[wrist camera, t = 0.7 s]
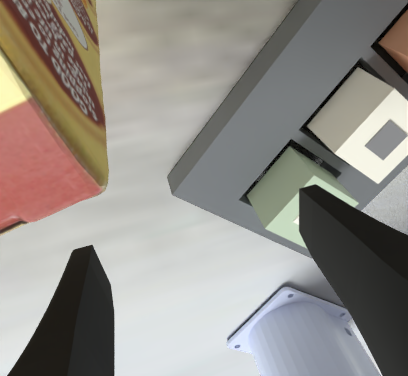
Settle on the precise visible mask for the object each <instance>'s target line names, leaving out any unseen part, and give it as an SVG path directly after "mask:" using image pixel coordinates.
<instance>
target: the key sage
mask: <svg viewBox="0 0 408 376" xmlns="http://www.w3.org/2000/svg"><path fill="white" fill-rule="evenodd" d="M314 184H316V185H318V186H320V187H321V188H323V189H325V190H326V191H328V192H330V193H331V194H333V195H334V196H336V197H338V198H339V199H341V200H343V201H344V202H346V203H348V204H349V205H351V206H353V207H354V208H355V207H356V206H357V205H358V204H359V203H358V202H357V201H356V199H355V198H354V197H353V196H352V195H351V194H350V193H349V192H348V191H347V190H346V189H345V187H344V186H343V185H342V184H341V183H340V182H339V181H338V180H337V179H336V178H335V177H334V175H333V174H332V173H330V172H329V171H327V170H326V169H324V168H323V167H321V166H320V165H318V164H317V163H315V162H313V161H312V160H310V159H309V158H307V157H306V156H304V155H303V154H301V153H300V152H298V151H297V150H295V149H294V148H292V147H291V146H289V147H288V148H287V149H286V151H285V152H284V153H283V154H282V155H281V156H280V158H279V159H278V160H277V161H276V162H275V163H274V165H273V166H272V167H271V168H270V169H269V170H268V171H267V173H266V174H265V175H264V176H263V177H262V178H261V180H260V181H259V182H258V183H257V184H256V185H255V187H254V188H253V189H252V190H251V191H250V192H249V194H248V195H247V197H248V199H249V201H250V202H251V204H252V206H253V208H254V210H255V212H256V213H257V215H258V217H259V219H260V221H261V223H262V224H263V226H264V228H265V229H266V230H269V231H271V232H273V233H275V234H277V235H279V236H281V237H283V238H286V239H288V240H290V241H292V242H294V243H296V244H298V245H300V246H303V247H305V248H307V247H306V245H305V243H304V241H303V239H302V237H301V235H300V232H299V188H303V187H307V186H310V185H314Z"/></svg>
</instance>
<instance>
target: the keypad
mask: <svg viewBox="0 0 408 376" xmlns="http://www.w3.org/2000/svg"><path fill="white" fill-rule="evenodd" d="M407 3H408V0H299V1H298V2H297V3H296V5H295V6H294V8H293V9H292V10H291V12H290V13H289V14H288V16H287V17H286V18H285V20H284V21H283V22H282V24H281V25H280V26H279V28H278V29H277V30H276V32H275V33H274V34H273V36H272V37H271V38H270V40H269V41H268V42H267V44H266V45H265V46H264V48H263V49H262V50H261V52H260V53H259V54H258V56H257V57H256V59H255V60H254V61H253V63H252V64H251V65H250V67H249V68H248V69H247V71H246V72H245V73H244V75H243V76H242V77H241V79H240V80H239V81H238V83H237V84H236V85H235V87H234V88H233V89H232V91H231V92H230V93H229V95H228V96H227V97H226V99H225V100H224V101H223V103H222V104H221V105H220V107H219V108H218V109H217V111H216V112H215V114H214V115H213V116H212V118H211V119H210V120H209V122H208V123H207V124H206V126H205V127H204V128H203V130H202V131H201V132H200V134H199V135H198V136H197V138H196V139H195V140H194V142H193V143H192V144H191V146H190V147H189V148H188V150H187V151H186V152H185V154H184V155H183V156H182V158H181V159H180V160H179V162H178V163H177V165H176V166H175V167H174V169H173V170H172V171H171V173H170V174H169V175H168V177H167V178H168V182H169V185H170V189H171V192H172V195H173V196H176V197H178V198H180V199H182V200H184V201H187V202H189V203H191V204H193V205H195V206H198V207H200V208H202V209H204V210H206V211H209V212H211V213H213V214H215V215H217V216H220V217H222V218H224V219H226V220H228V221H231V222H233V223H235V224H237V225H239V226H242V227H244V228H246V229H248V230H250V231H253V232H255V233H257V234H259V235H261V236H264V237H266V238H268V239H270V240H272V241H274V242H277V243H279V244H281V245H283V246H285V247H288V248H290V249H292V250H294V251H296V252H299V253H301V254H303V255H305V256H307V257H310V258H312V256H311V255H310V253H309V251H308V249H307V248H305V247H303V246H300V245H298V244H296V243H294V242H292V241H290V240H288V239H286V238H283V237H281V236H279V235H277V234H275V233H273V232H271V231H269V230H266V229H265V228H264V226H263V224H262V223H261V221H260V219H259V217H258V215H257V213H256V212H255V210H254V208H253V206H252V204H251V202H250V201H249V199H248V197H247V195H248V194H249V193H248V192H247V190H248V188H249V187H250V186H251V185H252V184H253V183H254V181H255V180H256V179H257V178H258V177H259V176H260V174H261V173H262V172H263V171H264V170H265V169H266V167H267V166H268V165H269V164H270V163H271V162H272V160H273V159H274V158H275V157H276V156H277V155H278V153H279V152H280V151H281V150H282V149H283V148H284V146H285V145H286V144H287V143H288V142H289V141H290V139H292V140H294V141H295V142H297V143H298V144H300V145H301V146H303V147H304V148H306V149H307V150H309V151H310V152H312V153H313V154H315V155H316V156H318V157H319V158H321V159H322V160H324V162H323V163H322V164H321V165H320V166H321V167H323V168H324V169H326V170H327V171H329V172H330V173H332V174H333V175H334V177H335V178H336V179H337V180H338V181H339V182H340V183H341V184H342V185H343V186H344V187H345V189H346V190H347V191H348V192H349V193H350V194H351V195H352V196H353V197H354V198H355V199H356V201H357V202H358V203H359V204H358V205H357V206H356V207H355V208H356V209H358V210H360V211H361V210H362V209H363V208H364V207H365V206H366V205H367V204H368V203H369V202H370V201H371V200H372V199H374V198H375V197H376V196H377V195H378V194H379V193H380V192H381V191H382V190H383V189H384V188H385V187H386V186H387V185H388V184H389V183H390V182H391V181H392V180H393V179H394V178H395V177H396V176H397V175H398V174H399V173H400V172H401V171H402V170H403V169H404V168H405V167H406V166H407V165H408V155H407V156H406V157H405V158H404V159H403V160H402V161H401V162H400V163H399V164H398V165H397V166H396V167H395V168H394V169H393V170H392V171H391V172H390V173H389V174H388V175H387V176H386V177H385V178H384V179H383V180H382V181H381V182H380V183H379V184H377V183H376V182H374V181H373V180H372V179H370V178H369V177H367V176H366V175H364V174H363V173H362V172H360V171H359V170H357V169H356V168H354V167H353V166H352V165H350V164H349V163H347V162H346V161H344V160H343V159H342V158H340V157H339V156H337V155H336V154H334V153H333V152H332V151H331V150H330V149H329V148H328V147H327V146H326V145H325V144H324V143H323V142H321V141H320V140H319V139H317V138H316V137H314V136H313V135H311V134H310V133H309V132H307V131H306V130H304V129H303V128H302V125H303V124H304V123H305V122H306V121H307V120H308V118H309V117H310V116H311V115H312V114H313V113H314V111H315V110H316V109H317V108H318V107H319V106H320V104H321V103H322V102H323V101H324V100H325V99H326V97H327V96H328V95H329V94H330V93H331V92H332V90H333V89H334V88H335V87H336V86H337V85H338V83H339V82H340V81H341V80H342V79H343V78H344V76H345V75H346V74H347V73H348V72H349V71H350V69H351V68H352V67H353V66H354V65H355V64H356V62H357V61H358V62H359V63H360V64H361V65H362V66H363V67H364V68H365V69H366V70H368V71H369V72H370V73H371V74H372V75H373V76H374V77H376V78H378V79H379V80H381V81H383V82H385V83H386V84H388V85H390V86H391V87H393V88H395V89H396V90H397V91H398V92H399V93H400V94H401V95H402V96H403V97H404V98H405V99H406V100H407V101H408V73H407V72H406V73H405V74H404V75H403V76H402V77H400V76H399V75H398V74H397V73H396V72H395V71H394V70H393V69H392V68H391V67H390V66H389V65H388V64H387V63H386V62H385V61H384V60H383V59H382V58H381V57H380V56H379V55H378V54H377V53H376V52H375V51H374V50H373V49H372V48H371V47H370V46H371V45H372V44H373V43H374V41H375V40H376V39H377V38H378V37H379V36H380V34H381V33H382V32H383V31H384V30H385V29H386V27H387V26H388V25H389V24H390V23H391V22H392V20H393V19H394V18H395V17H396V16H397V15H398V13H399V12H400V11H401V10H402V9H403V8H404V6H405V5H406V4H407Z"/></svg>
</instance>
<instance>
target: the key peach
mask: <svg viewBox="0 0 408 376" xmlns="http://www.w3.org/2000/svg"><path fill="white" fill-rule="evenodd" d="M379 44H380V45H381V46H382V47H383V48H384V49H385V50H386V51H387V52H388V53H389V54H390V55H391V57H392V58H393V59H394V60H395V61H396V62H397V63H398V64H399V65H400V66H401V67H402V68H403V69H404V70H405V71H406V72H407V73H408V9H407V10H406V12H405V13H404V14H403V15H402V16H401V17H400V19H399V20H398V21H397V22H396V23H395V24H394V26H393V27H392V28H391V29H390V30H389V31H388V32H387V34H386V35H385V36H384V37H383V38H382V39H381V41H380V42H379Z"/></svg>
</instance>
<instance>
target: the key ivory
mask: <svg viewBox="0 0 408 376" xmlns="http://www.w3.org/2000/svg"><path fill="white" fill-rule="evenodd" d="M307 127H308V128H309V129H310V130H311V131H312V132H313V133H314V134H315V135H316V136H317V137H318V138H319V139H320V140H321V141H322V142H323V143H324V144H325V145H326V146H327V147H328V148H329V149H330V150H331V151H332V152H333V153H334V154H336V155H337V156H339V157H340V158H342V159H343V160H344V161H346V162H347V163H349V164H350V165H352V166H353V167H354V168H356V169H357V170H359V171H360V172H362V173H363V174H364V175H366V176H367V177H369V178H370V179H372V180H373V181H374V182H376V183H377V184H379V183H380V182H381V181H382V180H383V179H384V178H385V177H386V176H387V175H388V174H389V173H390V172H391V171H392V170H393V169H394V168H395V167H396V166H397V165H398V164H399V163H400V162H401V161H402V160H403V159H404V158H405V157H406V156H407V155H408V101H407V100H406V99H405V98H404V97H403V96H402V95H401V94H400V93H399V92H398V91H397V90H396V89H395V88H393V87H391V86H390V85H388V84H386V83H385V82H383V81H381V80H379V79H378V78H376V77H374V76H373V75H371V74H369V73H367V72H366V71H364V70H362V69H361V68H359V67H357V68H356V70H355V71H354V72H353V73H352V74H351V75H350V76H349V78H348V79H347V80H346V81H345V82H344V83H343V85H342V86H341V87H340V88H339V89H338V90H337V92H336V93H335V94H334V95H333V96H332V97H331V98H330V100H329V101H328V102H327V103H326V104H325V105H324V107H323V108H322V109H321V110H320V111H319V112H318V114H317V115H316V116H315V117H314V118H313V119H312V121H311V122H310V123H309V124H308V125H307Z"/></svg>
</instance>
